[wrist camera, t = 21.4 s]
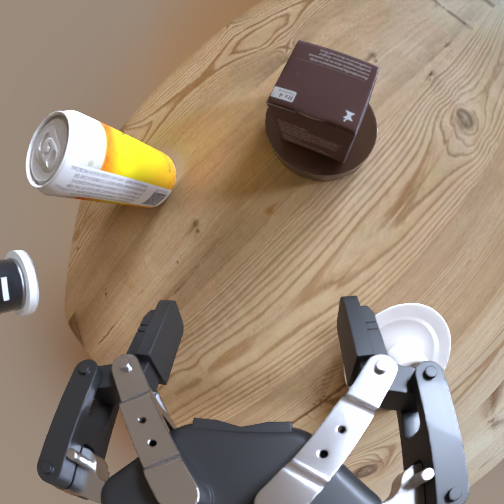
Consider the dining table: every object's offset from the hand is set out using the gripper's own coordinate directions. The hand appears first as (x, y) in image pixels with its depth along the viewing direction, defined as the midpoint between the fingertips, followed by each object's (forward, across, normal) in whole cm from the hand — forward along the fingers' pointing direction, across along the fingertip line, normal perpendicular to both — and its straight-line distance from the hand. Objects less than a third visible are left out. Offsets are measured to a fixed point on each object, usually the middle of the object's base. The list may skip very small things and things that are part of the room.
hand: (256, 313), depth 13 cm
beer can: (+18, +12, -2) cm, 21 cm away
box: (+15, -6, -7) cm, 18 cm away
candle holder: (+6, -13, +14) cm, 20 cm away
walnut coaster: (+17, -6, -6) cm, 19 cm away
